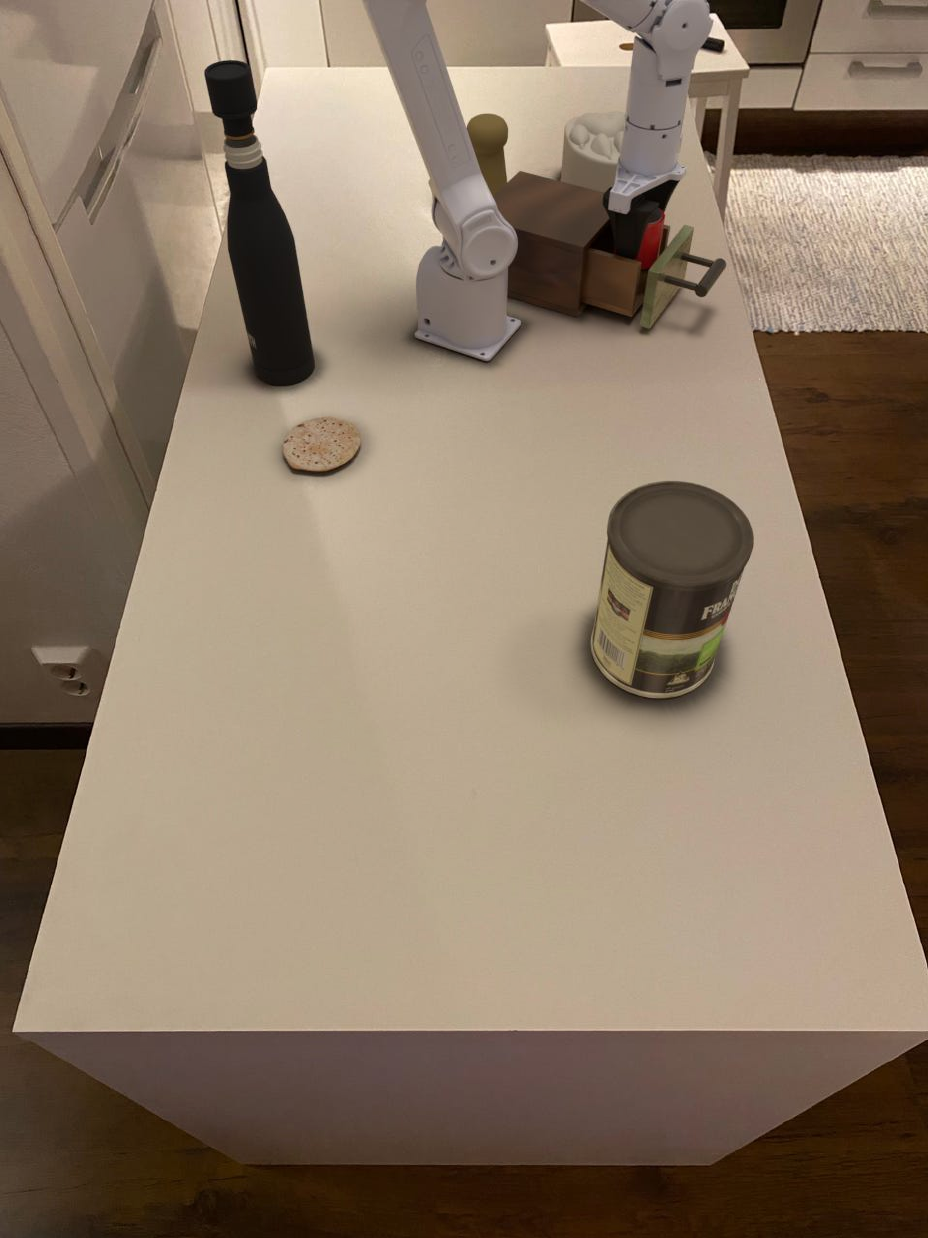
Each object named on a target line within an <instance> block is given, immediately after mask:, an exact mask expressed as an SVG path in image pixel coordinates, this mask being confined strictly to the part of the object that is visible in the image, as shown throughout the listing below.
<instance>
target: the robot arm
mask: <svg viewBox="0 0 928 1238" xmlns="http://www.w3.org/2000/svg"><path fill="white" fill-rule="evenodd" d="M427 1H428V0H361V2H362V4H363V7H364V9H365V11H366V12H365V13H366V14H367V17H368V20H369V22H370V25H371V28H372V30H373V33H374V36H375V38H376V41H377V44H378V46H379V49H380V52H381V54H382V57H383V60H384V62H385V64H386V67H387V70H388V72H389V75H390V78H391V80H392V83H393V85H394V88H395V90H396V94H397V96H398V98H399V101H400V104H401V106H402V109H403V111H404V114H405V118H406V120H407V122H408V125H409V127H410V130H411V132H412V135H413V139H414V141H415V143H416V145H417V148H418V151H419V154H420V156H421V159H422V160H423V163H424V166H425V170H426V172H427V174H428V177H429V179H428V180H427V181H428V182H427V183H428V186H429V189H430V193H431V197H432V202H431V218H432V222H433V225H434V226H435V228H436V229H437V230H438V231H439V233H440V234H441V235H442V242H441V245H433V246H430V248H428V249H427V250H426V251H425V253H424V254H423V256H422V258H421V259H420V262H419V265H418V267H417V272H416V277H415V294H416V311H417V312H416V313H417V330H415V332H414V337H415V338H416V339H418V340H421V341H424V342H426V343H430V344H433V345H436V346H439V347H443V348H445V349H448V350H451V351H454V352H457V353H460V354H463V355H466V356H470V357H473V358H475V359H478V360H481V361H483V362H490V361H491V360H493V358H494V357H495V356H496V355H497V353H498V352H499V351H500V350H501V348H503V347H504V345H505V344H506V343H507V342H508V341H509V339H511V338H512V336H513V335H514V334H515V333H516V332H517V331H518V329H519V328H520V327H521V326H522V321H521V320H520V319H518V318H515V317H512V316H509V315H508V296H507V289H508V266H509V265H510V264H511V263H512V261H513V259H514V257H515V255H516V252H517V248H518V240H517V235H516V232H515V230H514V228H513V227H512V226H511V225H510V224H509V223H508V222H507V221H506V220H505V219H504V217H503V216H502V215H501V213H500V212H499V210H498V208H497V205H496V203H495V200H494V198H493V196H492V194H491V192H490V190H489V188H488V186H487V184H486V182H485V180H484V177H483V175H482V173H481V170H480V167H479V164H478V161H477V158H476V155H475V152H474V149H473V146H472V143H471V140H470V137H469V134H468V131H467V124H466V122H465V120H464V115H463V114H462V110H461V108H460V104H459V101H458V99H457V98H458V97H457V95H456V93H455V90H454V86H453V82H452V81H451V77H450V74H449V71H448V68H447V65H446V62H445V59H444V55H443V52H442V49H441V47H440V44H439V40H438V37H437V35H436V31H435V29H434V26H433V23H432V20H431V17H430V13H429V11H428V7H427ZM579 1H580V2H582V3H583V4H585V5H587V6H588V7H590V8H591V9H592V10H594V11H596V12H598V13H599V14H600V15H602V16H604V17H606V18H607V19H608V20H610V21H612V22H613V23H615V24H616V25H618V26H619V27H621V28H622V29H624V30H626V31H628V32H631V33H633V34H635V33H636V35H635V36H634V39H633V46H632V56H631V63H630V71H629V80H628V87H627V96H626V104H625V112H624V114H625V120H624V129H623V137H622V146H621V154H620V157H619V158H618V162H617V170H616V178H615V184H614V187H610V188H609V189H608V190H607V191H606V192H605V193H604V194H603V206H604V208H605V210H606V212H607V214H608V216H609V219H610V222H611V225H612V230H613V236H614V244H615V251H616V255H618V256H622V257H625V258H629V259H632V260H635V259H636V257H637V255H638V253H639V250H640V247H641V243H642V240H643V236H644V233H645V230H646V227H647V224H648V222H649V220H650V218H651V216H652V215H653V213H654V211H655V210H656V208H657V207H659V208H660V209H661V210H662V211H663V212H664V213H665V212H666V210H667V207H668V205H669V202H670V200H671V197H672V195H673V193H674V192H675V190H676V188H677V187H678V185H679V183H680V182H681V180H683V179H684V177H685V176H686V175H687V170H688V167H687V166H686V165H684V164H681V163H679V154H680V153H681V150H682V149H681V147H682V142H683V136H684V135H683V134H682V131H683V130H682V129H683V125H684V119H685V113H686V107H687V101H688V95H689V89H690V82H691V76H692V72H693V71H692V70H694V68H695V62H696V57H697V56H698V55H697V54H698V53H699V51H700V49H701V48H702V47H703V45H704V44H705V42H707V39H708V38H709V36H710V34H711V32H712V28H713V25H714V19H713V18H712V17H711V16H710V13H711V9H710V3H708V0H579ZM637 35H638V36H637Z"/></svg>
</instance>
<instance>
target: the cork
mask: <svg viewBox="0 0 928 1238" xmlns="http://www.w3.org/2000/svg"><path fill="white" fill-rule="evenodd" d="M466 128H467V131H468V134H469V137H470V140H471V143H472V146H473V149H474V152H475V155H476V158H477V161H478V164H479V167H480V170H481V173H482V175H483V177H484V180H485V182H486V184H487V186H488V188H489V190H490V192H491V194H492V196H494V195H495V194H496V193H497V192H498V191H499V190H500V189H501V188H502V187H503V186H504V185H505V184H506V183H508V178H507V177H508V175H507V165H506V157H505V146H506V144H507V142H508V139H509V126H508V123H507V122H506V120H505V118H503V117H502V116H500V115H498V114H495V113H480V114H476V115H475V116H473V117H471V118H470V119H469V120H468V123H467V124H466Z"/></svg>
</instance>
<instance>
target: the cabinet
mask: <svg viewBox="0 0 928 1238" xmlns="http://www.w3.org/2000/svg"><path fill="white" fill-rule="evenodd" d="M603 194H604V192H600V191H596V190H592V189H588V188H584V187H581V186H577V185H573V184H569V183H565V182H561V180H557V179H553V178H550V177H546V176H541V175H538V174H534V173H529V172H526V171H523V170H522V171H521V170H519V171H518V172H517V173H516V174H515V175H514V176H513V177H512V178H511V179H509V180H508V181H507V183H506V184H505V185H504V186H503V187H502V188H501V189H500V190H499V191H498V192H497V193H496V194H495V195H494V196H493V198H494V200H495V203H496V205H497V208H498V210H499V212H500V213H501V215H502V216H503V217H504V219H505V220H506V221H507V222H508V223H509V224H510V225H511V226H512V227H513V228H514V230H515V232H516V235H517V240H518V248H517V252H516V255H515V257H514V259H513V261H512V263H511V264H510V265H509V266H508V289H507V298H508V297H509V298H512V299H515V300H518V301H522V302H525V303H528V304H532V305H534V306H539V307H541V308H545V309H548V310H551V311H554V312H557V313H561V314H565V315H568V316H571V317H574V318H578V317H579V316H580V314H581V313H583V311H584V310H585V309H586V307H587V306H588V305H589V304H587V303H583V302H581V297H582V286H583V276H584V265H585V255H586V250H587V249H588V248H589V247H590V246H591V244H592V243H593V242H594V241H595V240H596V239H597V238H598V236H599V235H600V234H601V233H602V232H603V231H604V230H605V228H606V227H607V226H608V225H609V224H610V223H611V222H610V219H609V216H608V214H607V212H606V210H605V208H604V206H603Z"/></svg>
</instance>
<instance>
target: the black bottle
mask: <svg viewBox="0 0 928 1238" xmlns="http://www.w3.org/2000/svg"><path fill="white" fill-rule="evenodd" d="M203 71H204V72H203V75H204V81H205V85H206V90H207V94H208V99H209V103H210V108H211V113H212V114H213V115H214V117H216V118H219V119H221V122H222V125H223V126H222V127H223V135H224V137H225V139H224V140H223V151H224V153H225V154H224V158H225V161H224V171H225V176H226V180H227V184H228V189H229V202H228V211H227V218H226V219H227V220H226V238H227V240H226V241H227V252H228V256H229V260H230V265H231V269H232V273H233V278H234V283H235V287H236V292H237V296H238V300H239V303H240V304H239V305H240V308H241V309H240V310H241V313H242V318H243V322H244V326H245V331H246V336H247V340H248V345H249V348H250V354H251V358H252V361H253V366H254V371H255V373H256V376H257V377H258V379H259V380H261V381H262V382H264V383H266V384H268V385H272V386H278V387H279V386H280V387H283V386H292V385H296V384H299V383H301V382H303V381H304V380H306V379H308V378H309V377H310V376H311V375H312V374H313V373H314V371H315V367H316V364H315V361H316V360H315V355H314V350H313V344H312V343H313V342H312V337H311V331H310V325H309V319H308V313H307V307H306V301H305V295H304V290H303V289H304V288H303V284H302V277H301V271H300V265H299V258H298V252H297V245H296V241H295V237H294V233H293V230H292V227H291V225H290V222H289V220H288V217H287V215H286V213H285V211H284V209H283V207H282V205H281V203H280V201H279V199H278V197H277V196H276V194H275V192H274V190H273V187H272V184H271V179H270V173H269V167H268V162H267V159H266V158H265V156H264V155H263V150H262V143H261V142H260V140H259V137H258V135H256V134H255V133H256V131H255V127H254V124H253V119H252V115H253V114H255V113H256V112H257V110H258V102H257V97H256V91H255V86H254V85H255V84H254V80H253V73H252V68H251V66H250V65H249V64H248V63H247V62H245V61H242V60H236V59H226V60H225V59H224V60H220V61H216V62H213V63H211V64H209V65H208V66H207V67H206V68H205V69H204V70H203Z"/></svg>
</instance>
